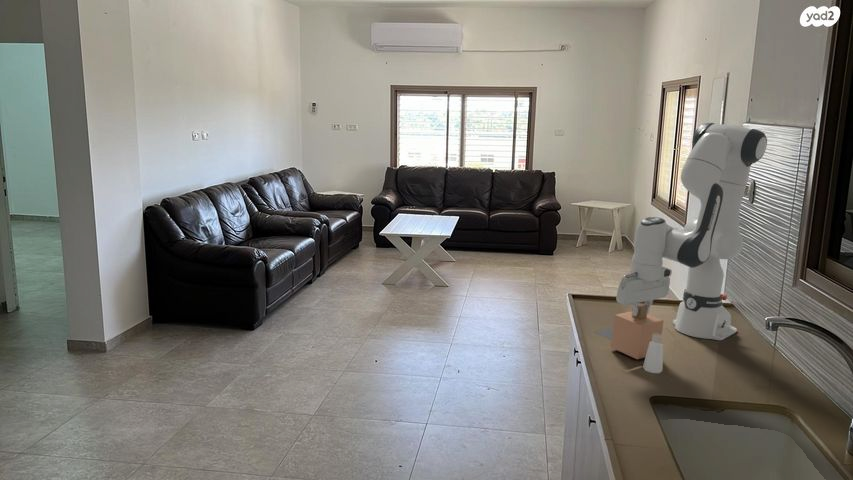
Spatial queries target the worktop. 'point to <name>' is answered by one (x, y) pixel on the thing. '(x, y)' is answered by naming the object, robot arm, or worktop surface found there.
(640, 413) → the worktop surface
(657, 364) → the pepper shaker
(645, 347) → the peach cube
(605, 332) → the mat
